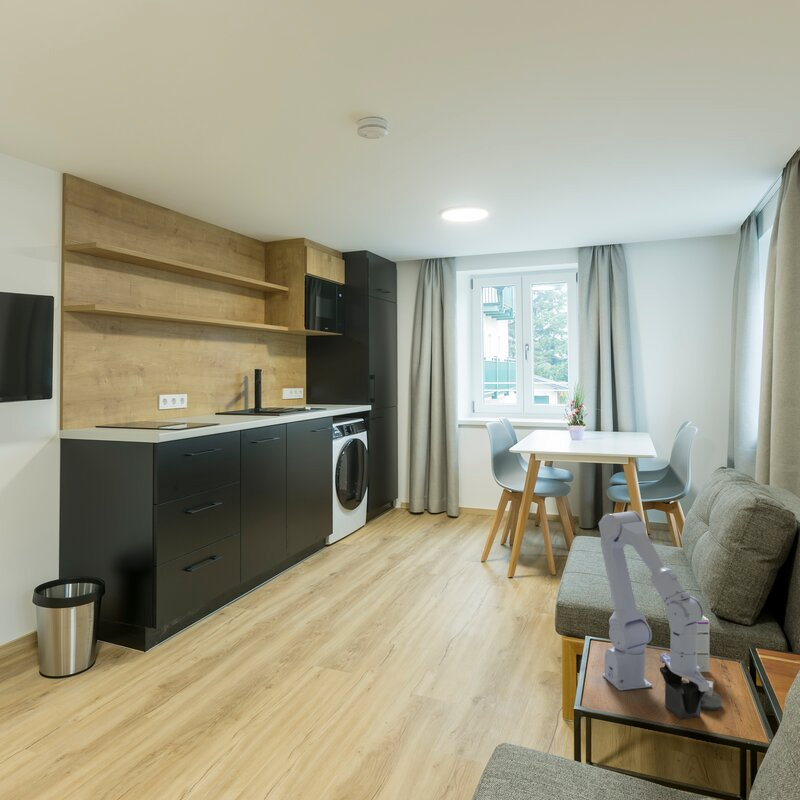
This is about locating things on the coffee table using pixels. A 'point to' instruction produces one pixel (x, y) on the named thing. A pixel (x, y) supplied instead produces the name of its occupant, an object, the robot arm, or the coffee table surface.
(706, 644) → the syrup box
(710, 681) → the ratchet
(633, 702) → the coffee table surface
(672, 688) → the socket
